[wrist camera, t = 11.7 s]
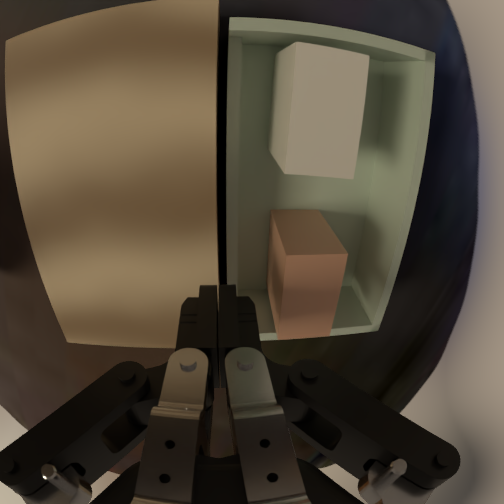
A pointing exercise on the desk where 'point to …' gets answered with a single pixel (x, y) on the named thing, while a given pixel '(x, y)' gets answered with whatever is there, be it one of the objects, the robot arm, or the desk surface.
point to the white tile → (317, 110)
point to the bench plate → (119, 164)
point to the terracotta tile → (303, 273)
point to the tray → (326, 188)
